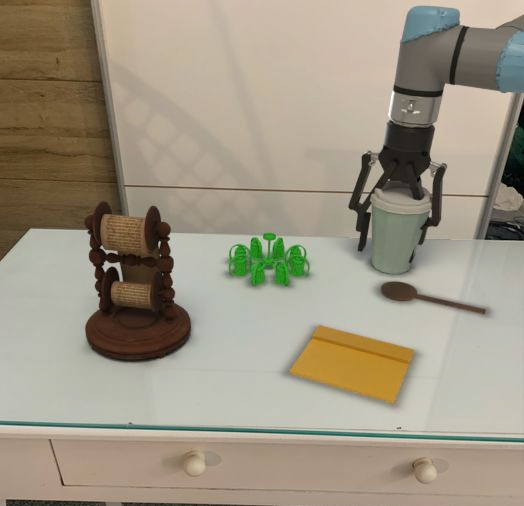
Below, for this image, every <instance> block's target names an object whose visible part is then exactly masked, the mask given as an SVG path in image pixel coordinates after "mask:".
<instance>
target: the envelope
mask: <svg viewBox="0 0 524 506" xmlns="http://www.w3.org/2000/svg"><path fill="white" fill-rule="evenodd" d="M414 353H415V349H414V348H410V347H405V346H402V345H398V344H394V343H390V342H386V341H382V340H377V339H375V338H371V337H367V336H363V335H359V334H355V333H353V332H348V331H344V330H341V329H336V328H333V327H329V326H325V325H321V324H320V325H318V327H317V328H316V329H315V331H314V332H313V333H312V337H311V339H310V340H309V342H308V344H307V345H306V347H305V348H304V349H303V351H302V352H301V354H300V355H299V357H298V358H297V359H296V361H295V362H294V364H293V366H292V367H291V368H290V370H289V374H290V375H294V376H298V377H301V378H305V379H308V380H311V381H315V382H318V383H322V384H325V385H328V386H331V387H334V388H339V389H342V390H345V391H349V392H352V393H356V394H358V395H362V396H366V397H370V398H373V399H376V400H380V401H383V402H387V403H389V404H393V405H394V404H395V401H396V399H397V397H398V394H399V391H400V389H401V387H402V384H403V382H404V379H405V377H406V374H407V371H408V369H409V366H410V364H411V362H412V359H413V357H414Z"/></svg>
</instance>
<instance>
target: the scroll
mask: <svg viewBox="0 0 524 506" xmlns="http://www.w3.org/2000/svg"><path fill="white" fill-rule="evenodd" d="M161 217H162V216H161V212H160V210H159V208H158V207H157V206H156V205H151V206H150V207H148V210H147V212H146V214H145V217H141V216H140V217H139V216H131V215H121V214H119V215H118V214H113V211H112V207H111V206H110V204H109V202H107V201H105V200H101V201H100V202H98V204H97V205H96V206H95V208H94V212H93V214H89V215H86V217H85V219H84V220H83V221H84V222H83V223H84V226H85V228H86V229H87V232H86V233H87V235H89V236H90V237H89V242H88V243H89V247H90V248H91V249H90V250H89V252H88V260H89V262H90V263H91V264H92V266H93V267H95V269H94V278H95V279H96V282H94V289H95V291H96V292H97V297H98V298H99V302H98V308H99V309H97V310H96V311H95V312H93V313H92V314H91V315H90V316H89V318H88V319H87V320H86V323H85V327H84V329H85V330H84V331H85V337H86V341H87V343H88V344H89V346H90V347H91V349H92V351H96V352H97V353H100V354H102V355H103V356H107V357H111V358H114V359H121V360H142V359H150V358H154V357H157V358H158V359H164V358H165V357H166V356H165V355H166V354H167V353H169V352H172V351H173V350H175V349H177V348H178V347H180V346H181V345H183V344H184V342H185V341H187V340H188V338H189V336H190V334H191V330H192V322H191V316H190V314H189V313H188V311H187V310H186V309H185V308H184V307H183V306H181V305H180V304H177V303H176V302H175V300H174V298H175V297H176V290H175V289H174V288H173V286H174V281H173V277H172V275H171V274H172V273H173V269H174V267H175V260H174V258H173V256H171V252H172V250H171V247H170V244H169V241H171V237H170V236H169V235H171V231H172V228H171V225H170V224H169V223H168V222H166V221H162V218H161ZM101 247H102V248H101ZM106 251H111V252H106ZM115 252H116V253H115ZM106 262H107V263H109V264H118V263H119V266H120V272H121V277H120V273H119V270H118V269H117V267H116V266H109V267H108V268H107V269H106V271H105V269H104V267H103V266H105V263H106ZM121 278H122V279H121ZM121 280H122V281H121Z"/></svg>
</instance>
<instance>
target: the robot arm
mask: <svg viewBox="0 0 524 506" xmlns="http://www.w3.org/2000/svg"><path fill="white" fill-rule="evenodd" d="M460 19H461V11H460V10H459V9H458V8H455V7H446V6H439V5H415V6H413V7H411V8H410V9H409V10H408V11H407V14H406V17H405V21H404V26H403V30H402V35H401V39H400V41H399V49H398V50H399V51H398V56H397V57H398V58H397V63H396V68H395V69H396V70H395V75H394V81H393V87H392V91H391V98H390V102H389V110H388V115H387V116H388V117H389V119H390V120H388V121H387V122H386V125H385V132H384V138H383V144H382V148H381V150H380V151H379V152H373V151H372V150H367V151H366V152H364V153H363V154H362V155H361V168H360V171H359V174H358V177H357V178H356V179H357V180H356V182H355V186H354V189H353V191H352V194H351V196H350V199H349V202H348V205H347V207H348V209H349V210H351V211H354V212H356V214H357V217H356V224H355V231H356V232H357V233H360V234H359V240H358V247H357V252H360V253H362V252H363V251H364V250H365V248H366V247H367V240H368V235H369V229H370V223H371V219H372V211H368V210H369V208H370V207H371V206H372V202H371V201H370V198H371V195H372V194H374V192H375V188H377V189H382V188H383V187H384V185H385V184H386V182H387V181H389V180H390V181H400V182H402V183H406V184H408V183H409V185H410V189H411V191H412V195H413V199H414V200H418V201H420V200H423V198H424V193H423V188H422V187H423V181H422V176H421V175H422V174H423V173H425V172H426V171H427V170H429V171H430V177H431V178H432V191H431V195H432V210H431V216H430V215H429V216H428V218H427V220H426V221H425V224H424V225H423V226H421V228H420V229H421V230H423V231H422V234H421V237H420V240H419V242H418V246H423V244H424V242H425V241H426V236H427V233H428V228H430V227H433V228H437V227H438V226H440V225H439V224H440V223H441V221H442V211H443V209H442V208H443V207H442V206H443V184H444V183H443V182H444V177H445V174H446V171H447V169H448V164H447V163H445V162H441V163H438V162H436V161H432V158H431V150H432V145H433V141H434V137H435V132H436V127H435V125H434V124H435V123H436V122H438V118H439V113H440V110H441V105H442V101H443V96H444V90H445V86H446V85H451V86H461V87H468V88H473V89H482V90H489V91H495V92H500V93H501V94H507V93H513V94H514V93H515V94H524V14H522V15H520V16H518V17H516V18H514V19H512V20H509V21H506V22H505V23H503V24H500V25H498V26H496V27H495V28H489V27H488V28H487V27H473V26H472V27H471V26H469V25H464V24H461V20H460ZM377 161H378V162H379V164H380V166H381V168H382V170H383V173H382V174H381V175H380V177H379V178H378V180H377V182H376V183H375V185H374V186H373V188H372V189H371V191H370V192H369V194H368V195H367V197H366V198H365V200H364V201H363V202H360V201H361V199H362V195H363V193H364V190H365V187H366V184H367V182H368V179H369V177H370V173H371V171H372V167H373V166H375V165H376V163H377ZM414 249H415V247H414ZM416 252H417V250H416V251H415V254H414V250H413V252H412V255H411V257H410V260H409V262H408V263H411V264H412V263H413V261H414V260H415V256H416ZM413 255H414V256H413Z"/></svg>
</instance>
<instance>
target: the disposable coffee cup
mask: <svg viewBox="0 0 524 506" xmlns="http://www.w3.org/2000/svg"><path fill="white" fill-rule="evenodd" d="M422 188H423V193H424V198H423V200H420V201H418V200H414V199H413V195H412V191H411V189H410V185H409V183H408V184H406V183H402V182H400V181H390V179H389V180H388V181H387V182H386V184H385V185H384V187H383V188H382V189H377V188H375V192H374V194H372V195H371V198H370V201H371V202H372V204H371V264H372V267H373V268H374V269H375V270H377V271H379V272H381V273H384V274H389V275H401V274H404V273H407V272H408V271H409V270H410V267H411V265H412V263H408V262H409V260H410V257H411V255H412V252H413V250H414V254H415V255H416V252H417V250H418V246H419V245H418V242H419V240H420V237H421V234H422V231H423V230H421V229H420V228H421V226H423V225H424V224H425V221H426V220H427V218H428V216H429V217H430V213H431V211H432V192H430V191H429V190H428V188H426V187H424V186H422ZM414 247H415V249H414ZM415 251H416V252H415ZM413 256H414V255H413Z"/></svg>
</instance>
